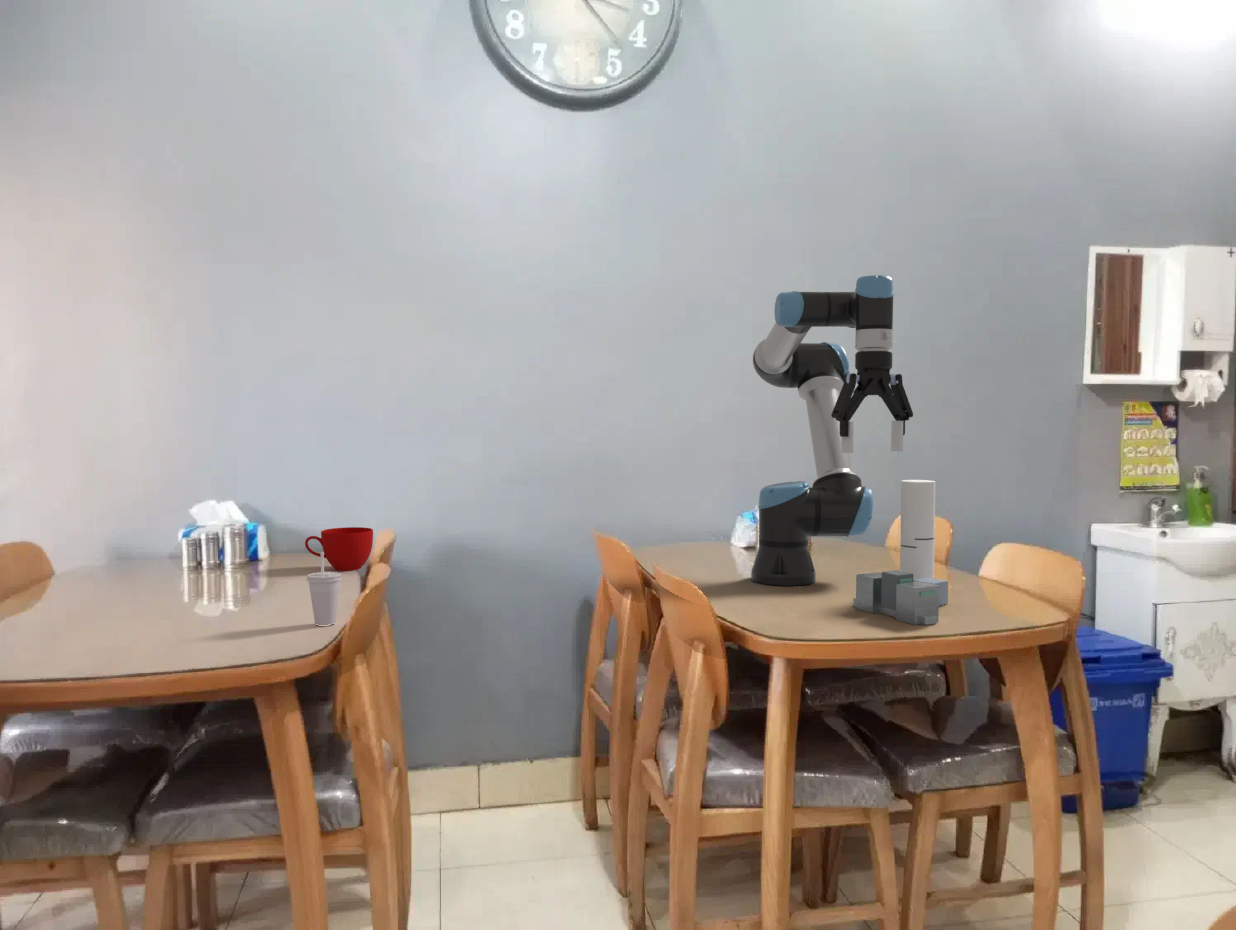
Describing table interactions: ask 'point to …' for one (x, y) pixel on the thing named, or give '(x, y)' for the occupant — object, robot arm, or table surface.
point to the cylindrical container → (917, 528)
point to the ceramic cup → (345, 547)
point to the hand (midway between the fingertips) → (872, 452)
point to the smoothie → (324, 594)
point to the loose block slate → (942, 588)
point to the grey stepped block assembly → (899, 599)
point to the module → (892, 586)
